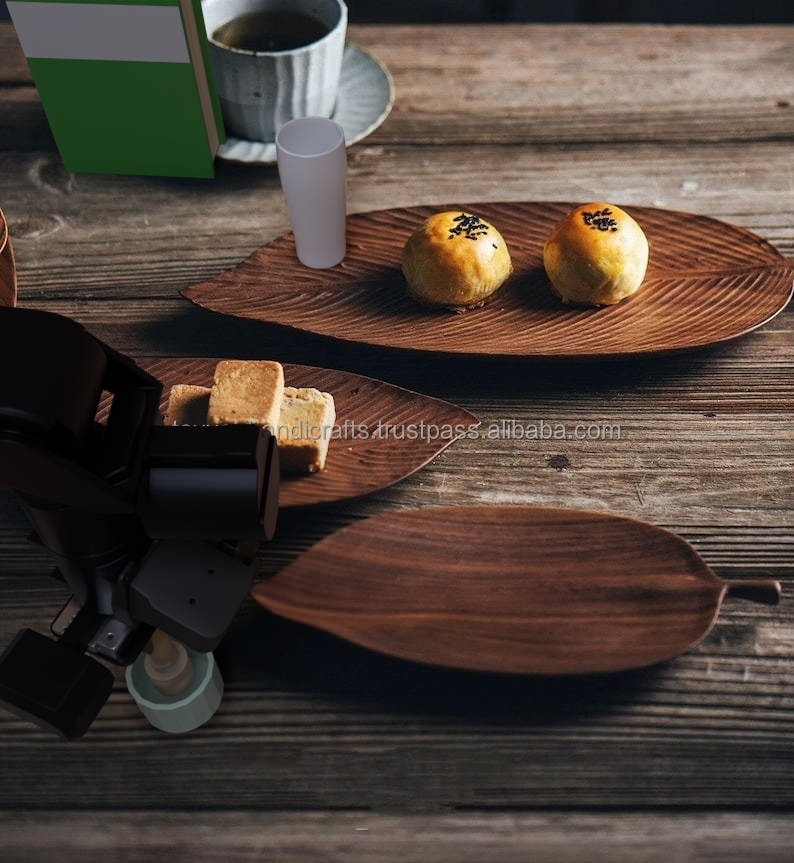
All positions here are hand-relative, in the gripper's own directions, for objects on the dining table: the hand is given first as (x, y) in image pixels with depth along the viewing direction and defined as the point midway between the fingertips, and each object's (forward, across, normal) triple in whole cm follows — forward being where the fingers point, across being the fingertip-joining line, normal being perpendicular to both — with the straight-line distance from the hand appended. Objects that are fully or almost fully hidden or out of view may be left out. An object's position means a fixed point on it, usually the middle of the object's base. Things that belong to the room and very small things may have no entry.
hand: (154, 638), depth 63 cm
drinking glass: (+10, +48, +13) cm, 51 cm away
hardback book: (+10, +55, +40) cm, 69 cm away
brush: (+6, 0, 0) cm, 6 cm away
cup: (+10, 0, 0) cm, 10 cm away
